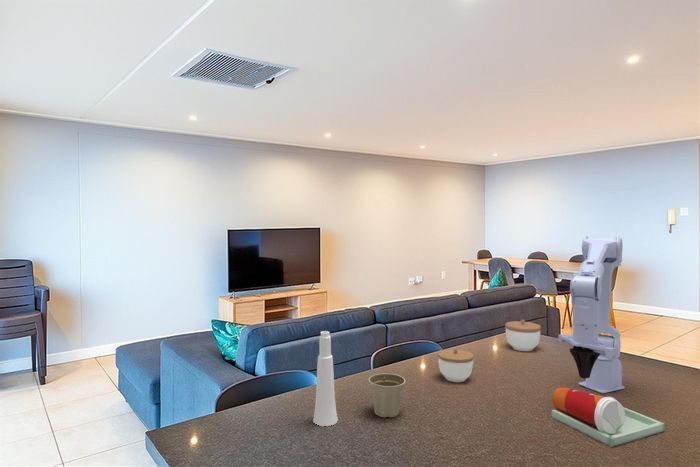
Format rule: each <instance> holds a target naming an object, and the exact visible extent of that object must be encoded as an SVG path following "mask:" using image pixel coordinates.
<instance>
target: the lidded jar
mask: <svg viewBox="0 0 700 467" xmlns="http://www.w3.org/2000/svg"><path fill="white" fill-rule="evenodd" d="M437 357H438V359H437V360H438V368H439V371H440V374H442V376H443V377H444V378H445V380H446V381H448V382H452V383H462V382H465V381H466V380H467V379H469V377H470V376H471V374H472V371H473V368H474V359H475V358H474V354H473V353H472V352H470V351H467V350H463V349H458V348H451V349H450V348H448V349H442V350H439V351H438V353H437Z"/></svg>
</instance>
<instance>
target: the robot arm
mask: <svg viewBox="0 0 700 467" xmlns="http://www.w3.org/2000/svg"><path fill="white" fill-rule="evenodd" d="M623 245H624V244H623V239H622V238H621V237H620V236H588V235H585V236H584V237H583V238H582V241H581V253H582V256H583V258H584V260H583V261H582V262H581V263H580V266H579V268H578V272H577V274H576V275H575V276H572V277H571V279H570V285H569V290H570V292H569V293H570V297H571V300H570V301H571V306H572V335H569V334H565V333H562V334H558V343H561V344H562V343H563V344H568V345H571V346H573V347H572V348H569V353H570V354H571V356H572V357H573V360H574V362H575V364H576V367H577V368H576V369H577V372H578V375H579V376H578V377H579V378H582V379H584V380H585V381H580V382H578V385H580V386H582V387H585V388H587V389H590V390H592V391H595V392H597V393H600V394H607V393H611V392H615V391H619V390H620V391H621V390H624V389H625V386H623V384H622V383H623V382H622V381H623V378H622V377H623V373H622V372H623V367H622V362H621V360H620V359H619V357H620V355H621V346H622V345H621V334H620V332H619V330H618V329H617V328H616V327H614V326H613V325H612V324H611V322H610V321H611V320H610V319H611V302H612V301H611V300H612V280H613V273H614V269H615V268H617V267H620V266H621V263H622V262H623ZM599 333H601V334H599ZM607 334H608V335H607Z"/></svg>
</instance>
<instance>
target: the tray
mask: <svg viewBox="0 0 700 467" xmlns="http://www.w3.org/2000/svg"><path fill="white" fill-rule="evenodd" d="M623 408H624V411H625V421H624V425H623V426H621V429H620V430H619V431H617V432H616V433H615V434H605V433H603V432H601V431H599V430H598V429H596V428H594V427H592V426H590V425H588V424H586V423H583V422H581V421H579V420H577V419H575V418H573V417H571V416H569V415H566V414H564V413H562V412H560V411H558V410H557V409H552V410H551V418H552V419H554V420H555V421H558V422H560V423H561V424H563V425H565V426H567V427H570V428H572V429H574V430H576V431H578V432H580V433H582V434H584V435H586V436H589V437H590V438H592V439H594V440H596V441H598V442H600V443H602V444H604V445H606V446H609V447H610V448H614V447H617V446H621V445H623V444H624V445H625V444H627V443H630V442H634V441H637V440H640V439H644V438H646V437H650V436H653V435H656V434H660V433H663V432H665V428H666V427H665V423H664V422H661V421H659V420H657V419H654V418H652V417H649V416H646V415H644V414H642V413H639V412H636V411H634V410H631V409H629V408H627V407H624V406H623Z"/></svg>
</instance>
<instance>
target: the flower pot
mask: <svg viewBox="0 0 700 467" xmlns="http://www.w3.org/2000/svg"><path fill="white" fill-rule="evenodd" d="M368 383H369V384H370V387H371V394H372V400H373V409H374V410H373V411H374V414H375V415H377V416H378V417H380V418H387V417H388V418H395V417H397V416H398V415H399V413H400V407H401V400H402V394H403V389H404V386H405V384H406V379H405V377H403V376H402V375H399V374H395V373H377V374H372V375H371V376H370V377H368Z"/></svg>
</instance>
